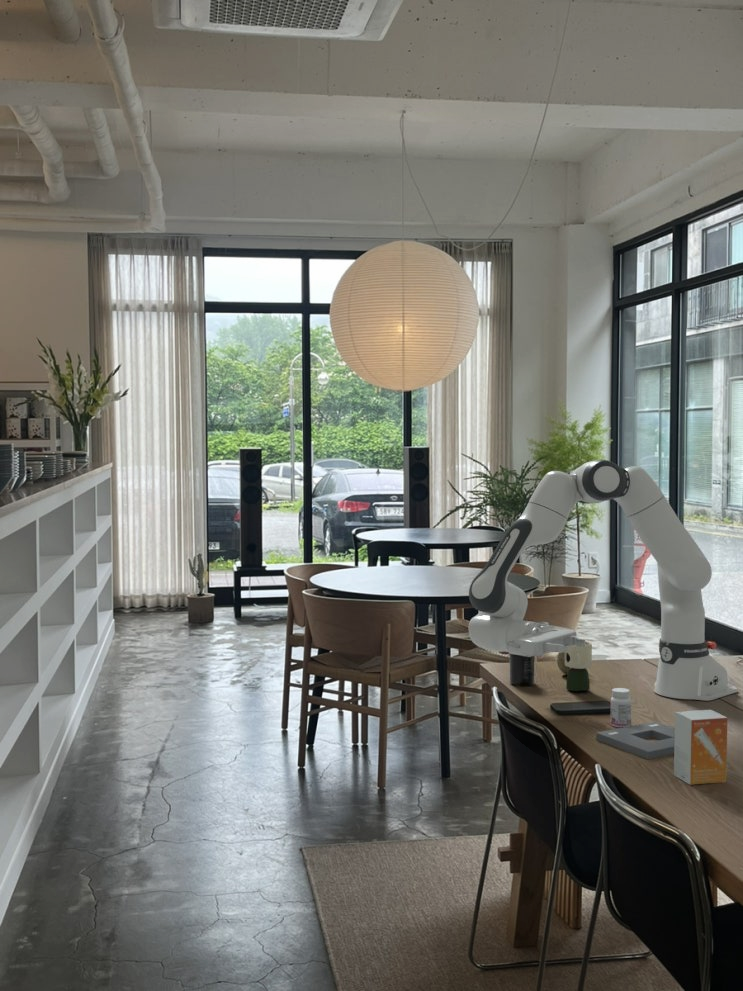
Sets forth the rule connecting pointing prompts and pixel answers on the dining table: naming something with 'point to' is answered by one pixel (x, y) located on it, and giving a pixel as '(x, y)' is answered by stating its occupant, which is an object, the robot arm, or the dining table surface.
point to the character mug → (578, 666)
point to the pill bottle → (620, 708)
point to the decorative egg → (562, 663)
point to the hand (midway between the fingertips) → (574, 646)
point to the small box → (700, 746)
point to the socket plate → (641, 739)
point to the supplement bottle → (521, 670)
